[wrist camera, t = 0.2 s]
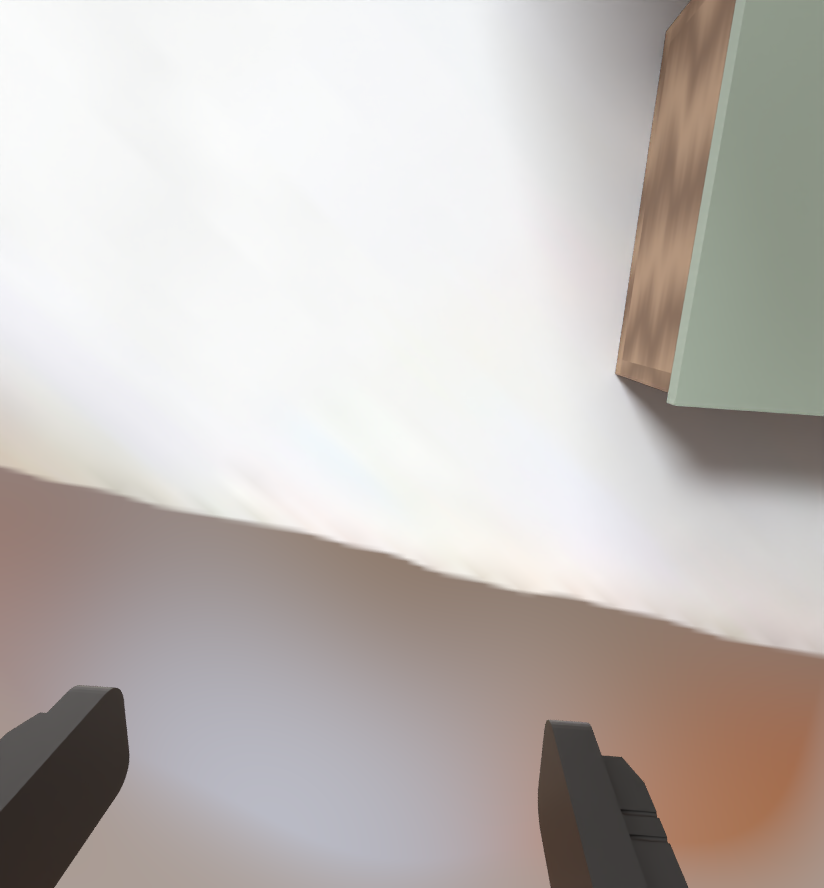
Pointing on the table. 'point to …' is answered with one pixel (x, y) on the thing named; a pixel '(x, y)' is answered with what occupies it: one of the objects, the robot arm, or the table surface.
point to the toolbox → (673, 189)
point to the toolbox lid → (761, 224)
